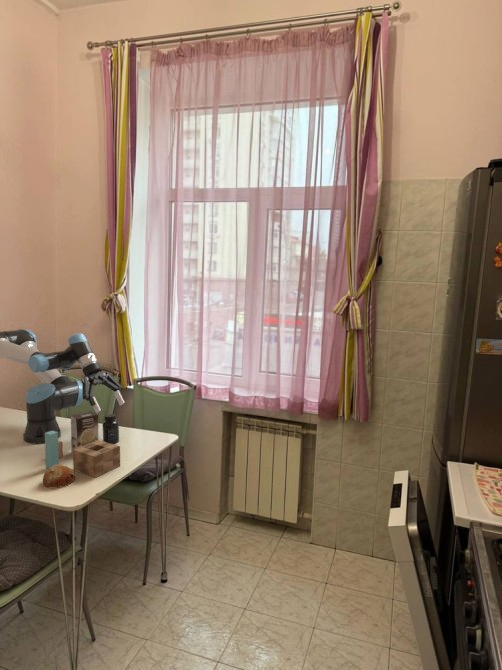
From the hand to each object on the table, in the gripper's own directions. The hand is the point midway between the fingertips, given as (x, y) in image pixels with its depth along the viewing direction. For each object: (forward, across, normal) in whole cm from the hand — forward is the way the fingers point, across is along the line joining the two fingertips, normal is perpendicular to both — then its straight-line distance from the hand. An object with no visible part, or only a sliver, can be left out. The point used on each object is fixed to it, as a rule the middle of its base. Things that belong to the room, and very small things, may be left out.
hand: (110, 407), depth 197 cm
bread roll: (+21, -37, -2) cm, 43 cm away
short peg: (+9, -23, +14) cm, 29 cm away
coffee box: (+13, -14, +9) cm, 21 cm away
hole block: (+22, -22, -4) cm, 32 cm away
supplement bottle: (+13, 0, +9) cm, 15 cm away
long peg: (+14, -31, +7) cm, 35 cm away
